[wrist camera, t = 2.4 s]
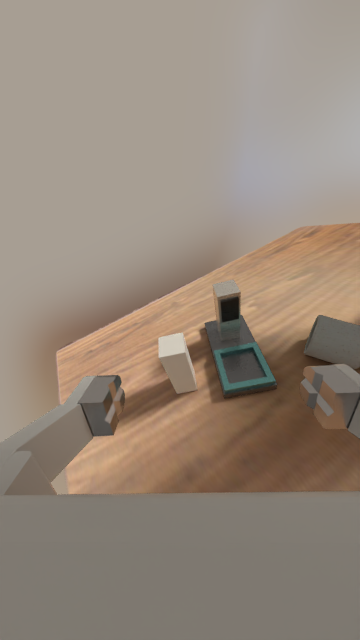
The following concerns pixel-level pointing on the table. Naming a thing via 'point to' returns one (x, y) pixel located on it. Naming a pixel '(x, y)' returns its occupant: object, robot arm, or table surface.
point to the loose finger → (177, 362)
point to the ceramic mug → (334, 342)
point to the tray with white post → (236, 346)
